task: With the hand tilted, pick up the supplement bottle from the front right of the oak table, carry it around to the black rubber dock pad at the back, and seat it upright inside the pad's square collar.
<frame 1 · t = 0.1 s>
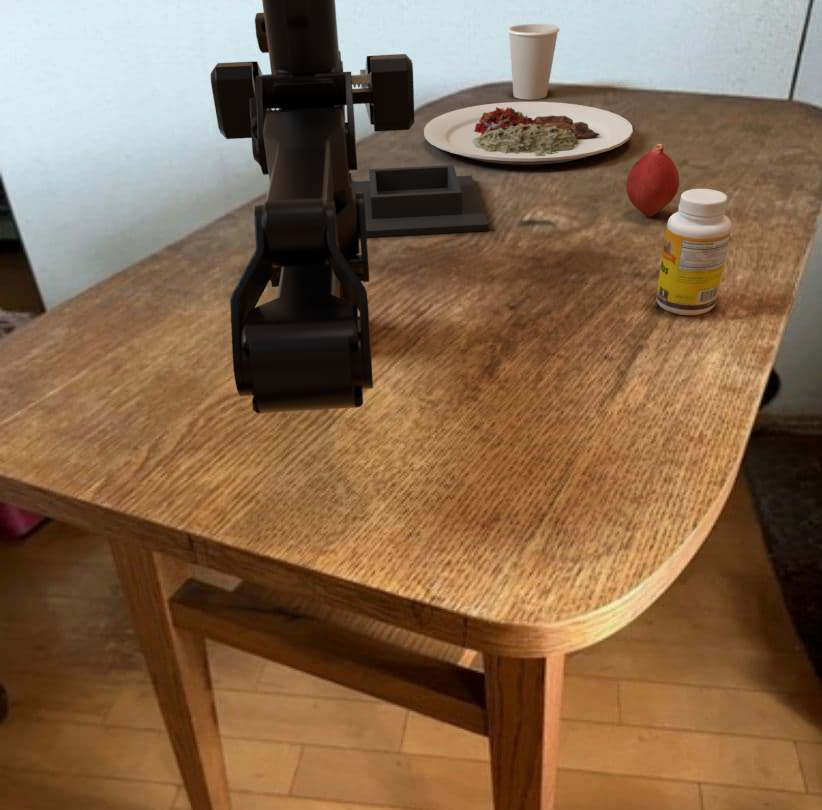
hand: (317, 77, 87), 17 cm above the table, tool horizontal, fingers open, 9 cm apart
supplement bottle: (684, 307, 82), on the table
plated food: (526, 142, 125), on the table
dixie cup: (530, 96, 146), on the table
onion: (647, 217, 100), on the table
dock pad: (414, 208, 105), on the table
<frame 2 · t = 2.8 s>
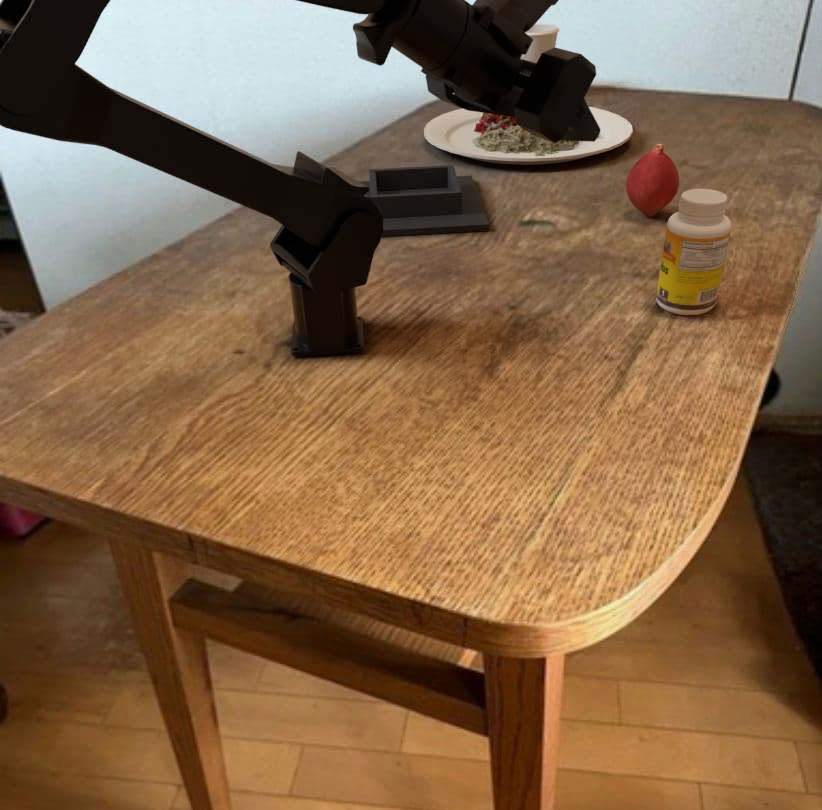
hand: (564, 124, 78), 14 cm above the table, tool tilted 55°, fingers open, 9 cm apart
nothing on the table moved.
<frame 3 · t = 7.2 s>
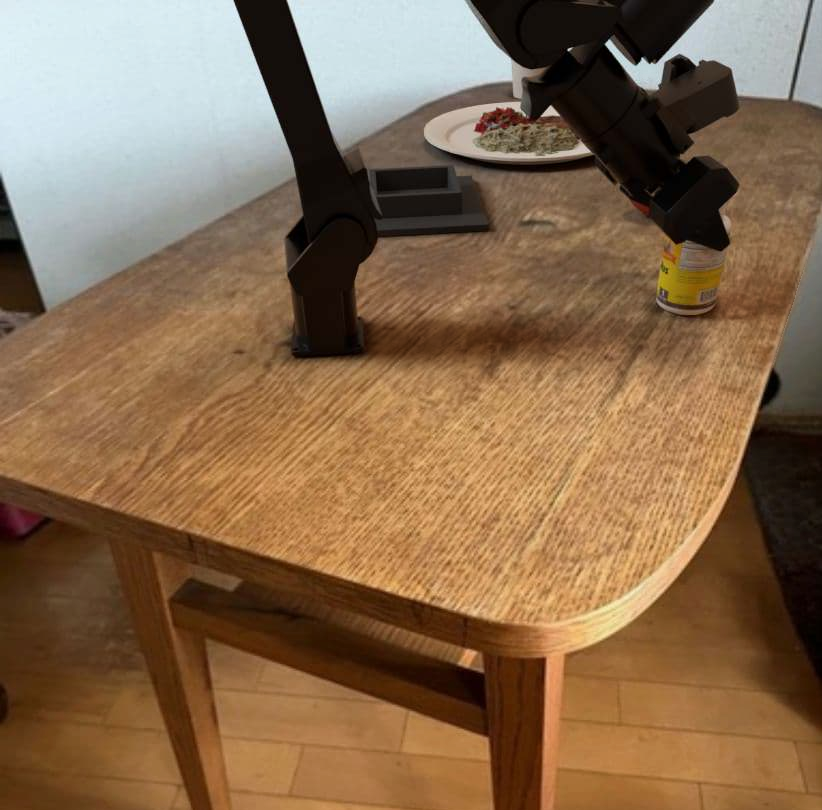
hand: (711, 235, 77), 7 cm above the table, tool tilted 45°, fingers closed on supplement bottle, 5 cm apart
supplement bottle: (684, 307, 82), on the table, touching gripper
everything else where it was.
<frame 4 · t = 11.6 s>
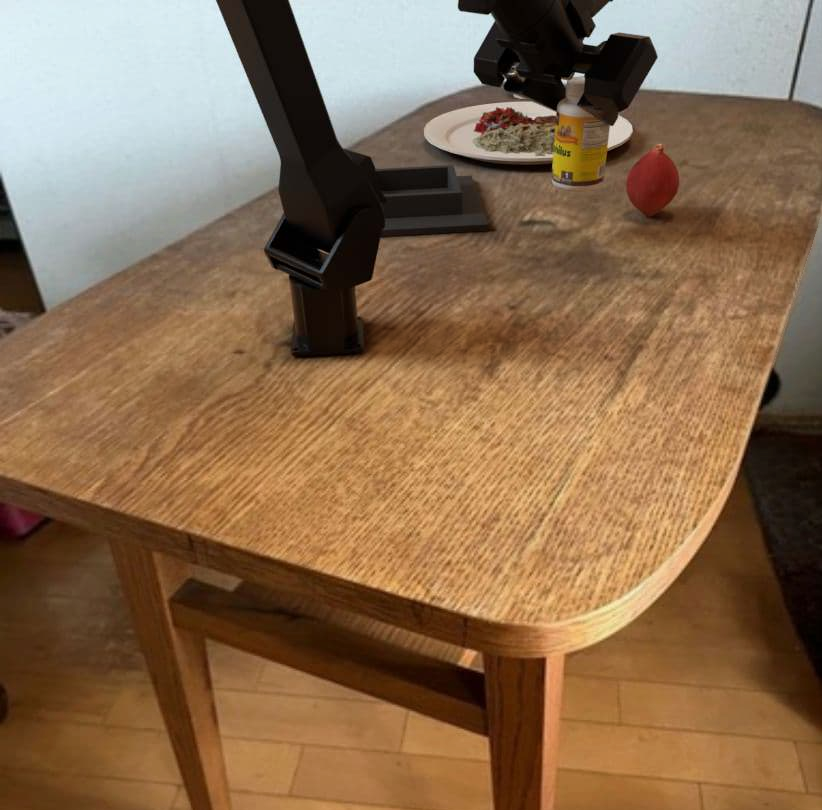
hand: (591, 116, 89), 12 cm above the table, tool tilted 45°, fingers closed on supplement bottle, 5 cm apart
supplement bottle: (576, 187, 92), point 5 cm above the table, touching gripper
everything else where it was.
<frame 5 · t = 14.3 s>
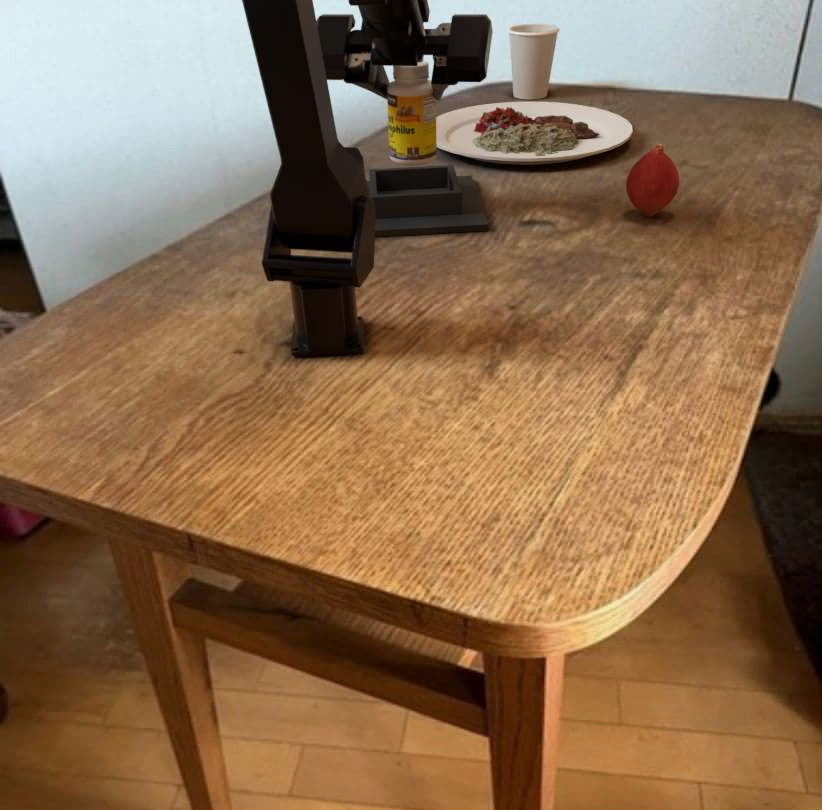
hand: (414, 96, 98), 12 cm above the table, tool tilted 45°, fingers closed on supplement bottle, 5 cm apart
supplement bottle: (413, 162, 101), point 5 cm above the table, touching gripper
everything else where it was.
when the fingers open (7 cm above the table, at t = 16.3 s): supplement bottle stays where it is, resting on dock pad.
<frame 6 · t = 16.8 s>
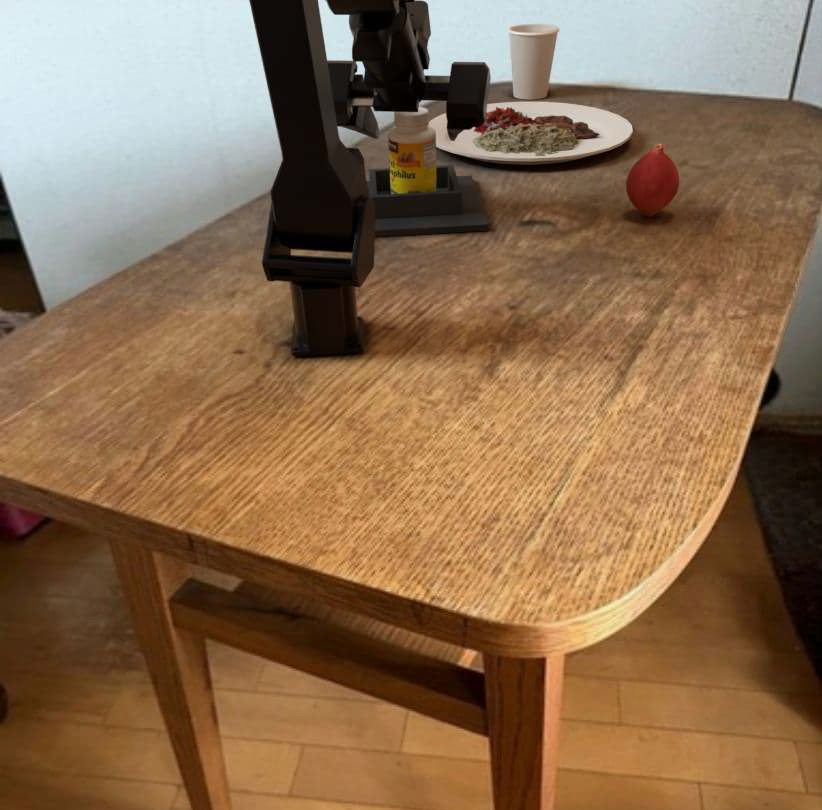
hand: (415, 136, 101), 8 cm above the table, tool tilted 45°, fingers open, 9 cm apart
supplement bottle: (414, 203, 104), point 1 cm above the table, touching dock pad
everything else where it was.
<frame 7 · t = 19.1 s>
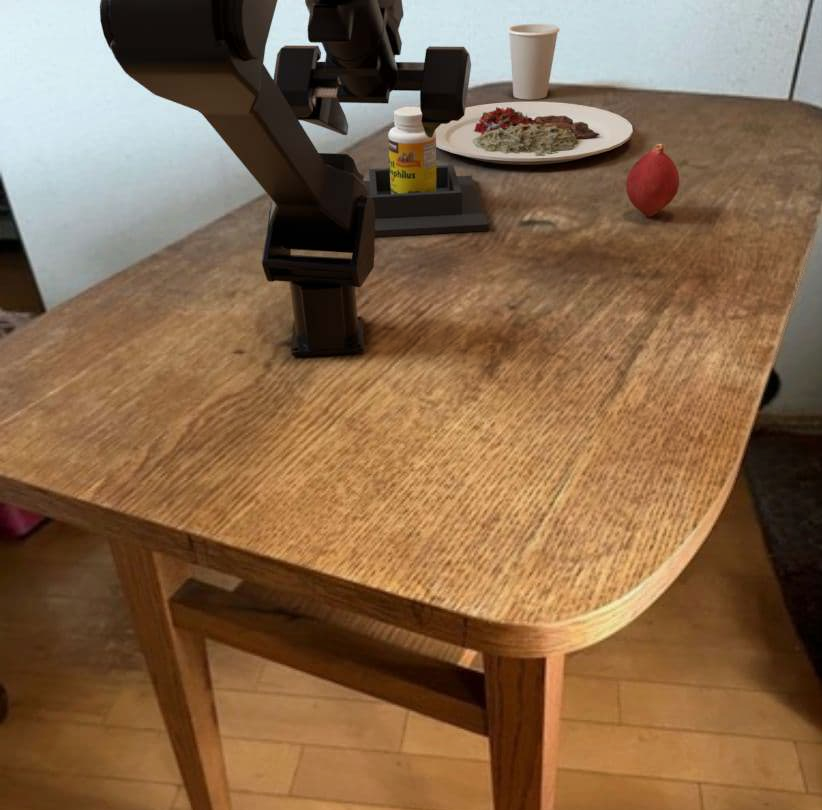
hand: (388, 131, 90), 11 cm above the table, tool tilted 45°, fingers open, 9 cm apart
nothing on the table moved.
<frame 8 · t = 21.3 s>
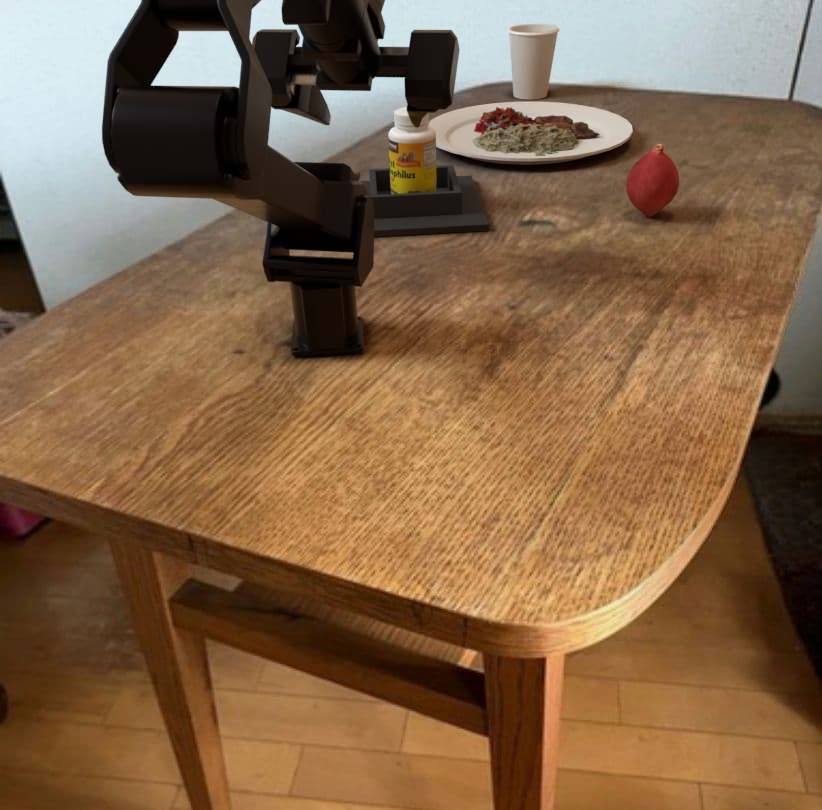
hand: (372, 121, 85), 14 cm above the table, tool tilted 45°, fingers open, 9 cm apart
nothing on the table moved.
at the end: supplement bottle 0.1 cm off-centre on the dock pad, point 0.6 cm above the dock pad's base; supplement bottle tilted 0°; the gripper is holding nothing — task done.
